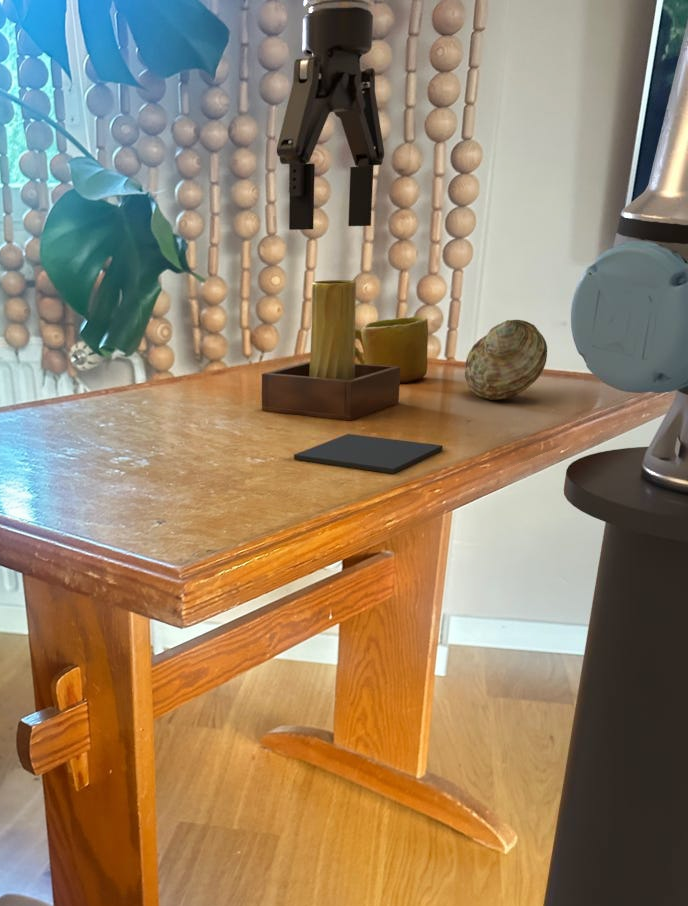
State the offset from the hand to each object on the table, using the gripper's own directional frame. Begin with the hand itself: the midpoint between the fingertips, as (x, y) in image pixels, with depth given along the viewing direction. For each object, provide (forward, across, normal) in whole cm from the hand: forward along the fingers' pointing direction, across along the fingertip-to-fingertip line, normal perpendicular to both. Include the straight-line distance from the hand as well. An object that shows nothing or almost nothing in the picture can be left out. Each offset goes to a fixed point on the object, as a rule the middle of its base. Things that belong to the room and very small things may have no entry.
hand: (331, 228), depth 108 cm
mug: (+21, -22, -3) cm, 31 cm away
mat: (+21, +20, +17) cm, 33 cm away
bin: (+21, 0, +1) cm, 21 cm away
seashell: (+21, -16, +17) cm, 31 cm away
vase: (+20, 0, +1) cm, 20 cm away
